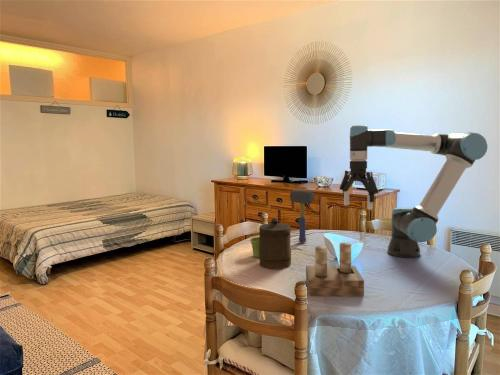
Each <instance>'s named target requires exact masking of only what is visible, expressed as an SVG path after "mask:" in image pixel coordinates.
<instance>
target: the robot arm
mask: <svg viewBox="0 0 500 375" xmlns="http://www.w3.org/2000/svg"><path fill="white" fill-rule="evenodd" d="M368 127H369V126H368V125H366V124H363V125H359V124H358V125H352V126H351V127H350V128H349V129H350V130H349V160H350V161H349V169H346V170H345V171H344V176H343V178H342V180H341V183H340V186H339V190H341V191H342V196H343V197H342V198H343V206H349V205H350V190H349V189H350V188H351V187H352V185H353V184H354V182H360V183H361V184H362V185H363V187H364V188H365V190H366V191H367V204H366V206H367V207H366V208H367V210H373V209H374V207H373V206H374V203H375V202H374V201H375V195H377V194H379V189H378V187H377V184H376V181H375V179H374V176H373V171H367V169H368V161H367V160H368V148H369V147H371V148H372V147H373V148H374V147H378V148H381V147H382V148H390V149H399V150H400V149H401V150H410V151H411V150H412V151H422V152H430V153H431V154H433V155H438V156H439V155H440V156H444V157H445V160H446V161H445V162H444V163H443V165H442V167H441V169H440V171H438V174H437V176H436V177H435V178H434V180H433V182H432V184H431V185H430V187H429V188H428V190H427V192H426V194H425V195H424V197H423V198H422V200H421V201H420V203H419V204H418V205H416V206H414V207H395V208H392V211H391V235H390V236H391V238H390V240H389V242H388V245H387V253H388V254H389V255H390V256H391V255H392V256H394V257H399V258H410V259H411V258H416V257H419V256H420V255H421V249H420V246H419V243H426V242H427V243H428V242H429V241H431V240H432V239H434V237H435V236H436V234H437V230H438V228H437V223H438V221H439V220H440V219H439V216H438V215H439V213H440V211H441V209H442V208H443V207H444V205H445V203H446V201H447V200H448V198H449V196H450V195H451V193H452V192H453V191H454V188H455V187H456V185H457V184H458V182H459V181H460V179H461V177H462V176H463V174H464V172H465V171H466V169H468V168H471V167H472V166H473V164H474V163H475V162H476V160H480V159H482V158H483V157H484V156H485V155H486V153H487V152H488V143H487V140H486V138H485V137H484V136H483V135H482V134H480V133H478V132H471V131H470V132H469V131H468V132H453V133H444V134H443V133H442V134H441V133H435V134H433V135H431V134H430V135H428V134H419V133H418V134H417V133H408V132H407V133H405V132H396V131H395V130H393V129H389V128H385V129H369V128H368Z"/></svg>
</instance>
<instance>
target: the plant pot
mask: <svg viewBox="0 0 500 375" xmlns="http://www.w3.org/2000/svg"><path fill="white" fill-rule="evenodd" d="M249 241H250V244H251V249H252V256H253V257H254V258H259V236H254V237H251V238H250V239H249ZM259 259H260V258H259Z"/></svg>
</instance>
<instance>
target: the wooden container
mask: <svg viewBox="0 0 500 375" xmlns="http://www.w3.org/2000/svg"><path fill="white" fill-rule="evenodd" d="M258 229H259V234H258V235H259V236H258V237H259V266H260V267H262V268H265V269H267V270H268V269H269V270H282V269H286V268H288V267H290V266H291V265H292V245H291V244H292V242H291V239H292V238H291V225H289V224H286V223H282V222H281V223H280V221H279V219H278V218H277V217H273V218H272V219H271V220H270V222H269V223H268V222H267V223H264V224H261V225H259V228H258Z"/></svg>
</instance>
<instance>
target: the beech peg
mask: <svg viewBox="0 0 500 375" xmlns="http://www.w3.org/2000/svg"><path fill="white" fill-rule="evenodd" d="M339 266H340V270H339V272H340V274H351V266H352V243H350V242H346V241H345V242H340V243H339Z"/></svg>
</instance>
